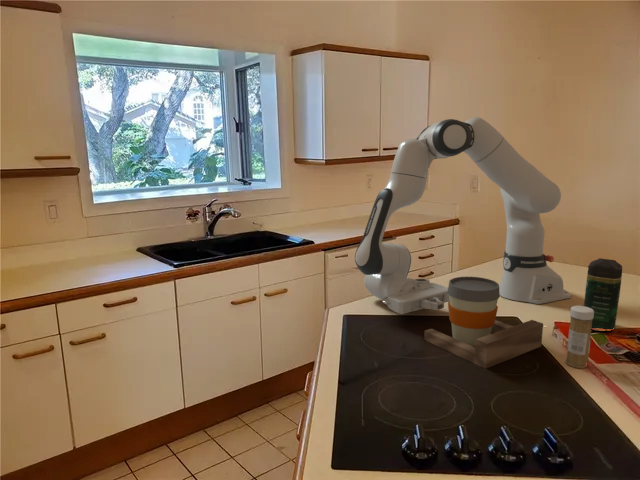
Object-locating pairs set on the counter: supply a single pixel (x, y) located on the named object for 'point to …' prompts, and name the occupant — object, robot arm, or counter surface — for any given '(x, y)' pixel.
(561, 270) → the counter surface
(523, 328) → the walnut bay
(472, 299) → the reusable coffee cup
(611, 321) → the coffee jar
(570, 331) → the spice jar
